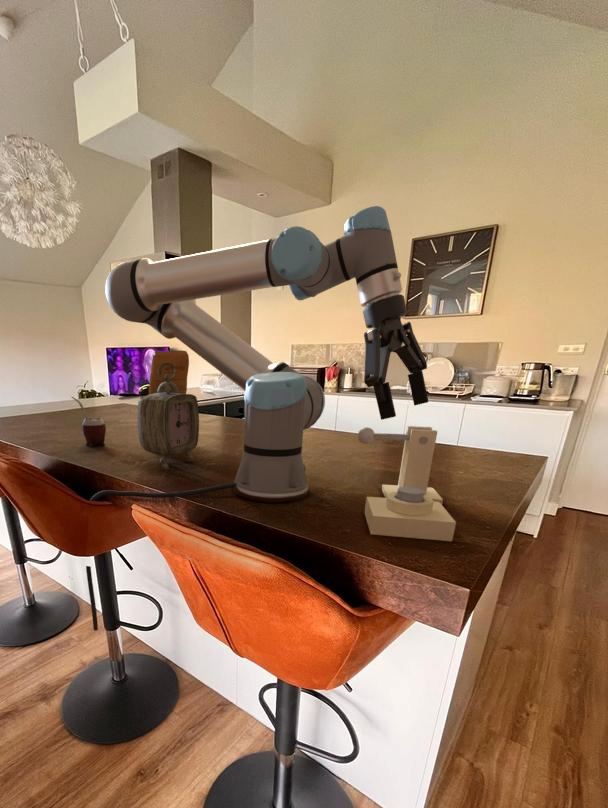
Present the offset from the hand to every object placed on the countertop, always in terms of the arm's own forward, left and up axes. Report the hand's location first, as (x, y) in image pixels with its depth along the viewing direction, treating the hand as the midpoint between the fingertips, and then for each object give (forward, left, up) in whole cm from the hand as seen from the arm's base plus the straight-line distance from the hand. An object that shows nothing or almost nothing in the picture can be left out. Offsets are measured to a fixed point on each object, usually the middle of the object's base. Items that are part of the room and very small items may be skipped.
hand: (405, 410), depth 84 cm
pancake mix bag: (-60, +30, -17) cm, 70 cm away
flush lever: (-3, -5, -6) cm, 8 cm away
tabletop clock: (-53, +9, -17) cm, 57 cm away
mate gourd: (-84, +27, -17) cm, 90 cm away
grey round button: (-1, -22, -12) cm, 25 cm away
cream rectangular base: (-1, -22, -16) cm, 27 cm away
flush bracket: (+3, -5, -16) cm, 17 cm away
